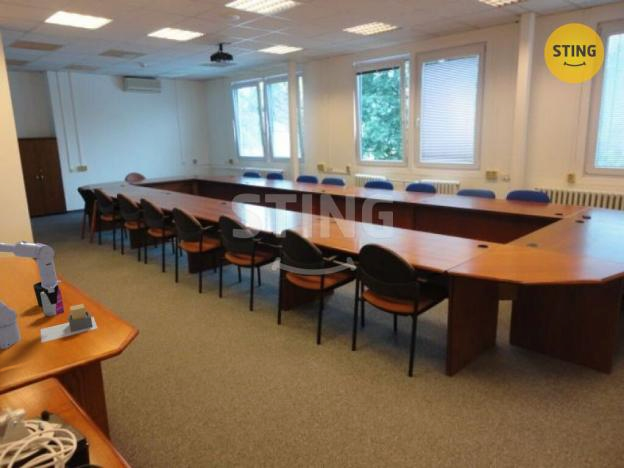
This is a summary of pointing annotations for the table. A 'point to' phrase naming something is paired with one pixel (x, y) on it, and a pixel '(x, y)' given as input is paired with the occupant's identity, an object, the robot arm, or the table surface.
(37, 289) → the pen holder
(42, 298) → the supplement box
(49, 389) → the table surface
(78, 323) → the charcoal base block
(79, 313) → the ochre block
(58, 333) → the build board
